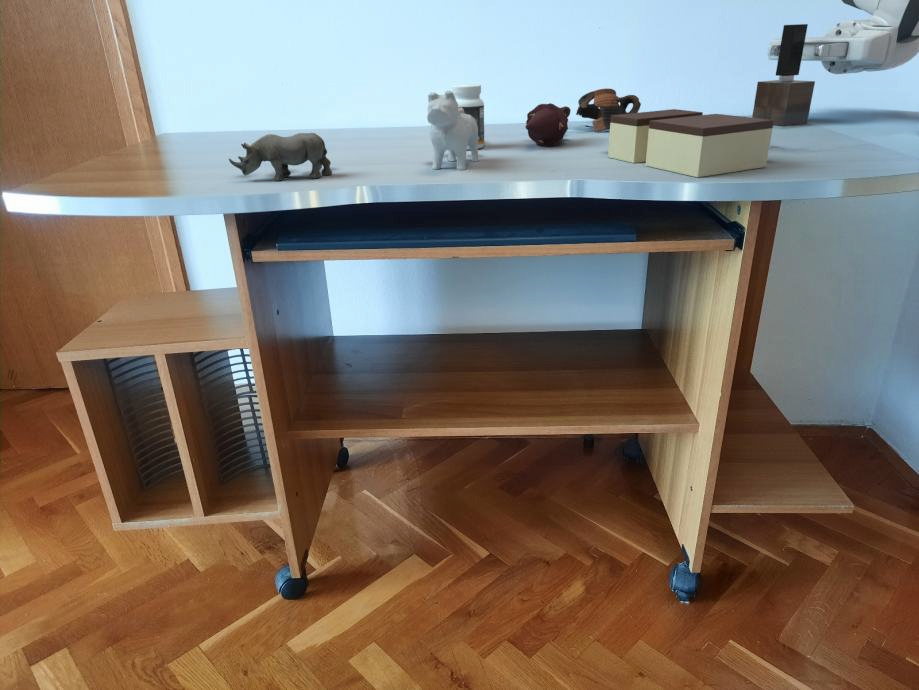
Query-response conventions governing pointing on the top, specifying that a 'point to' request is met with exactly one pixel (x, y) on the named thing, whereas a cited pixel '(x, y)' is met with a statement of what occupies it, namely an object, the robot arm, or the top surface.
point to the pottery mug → (605, 107)
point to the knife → (791, 51)
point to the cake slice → (636, 133)
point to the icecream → (547, 124)
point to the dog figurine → (451, 130)
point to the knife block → (783, 101)
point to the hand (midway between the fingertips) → (793, 50)
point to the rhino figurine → (285, 154)
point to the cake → (708, 144)
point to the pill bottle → (471, 106)
